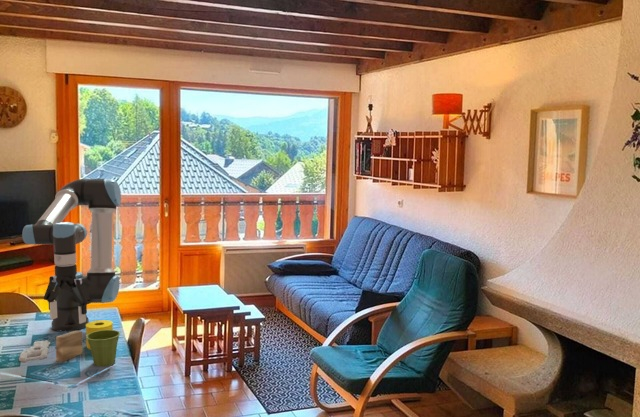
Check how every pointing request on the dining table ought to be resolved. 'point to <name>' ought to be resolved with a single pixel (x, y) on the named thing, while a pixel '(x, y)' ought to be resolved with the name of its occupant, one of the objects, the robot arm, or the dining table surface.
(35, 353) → the light grey toy spaceship
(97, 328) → the yellow paper roll
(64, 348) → the rectangular block
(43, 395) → the dining table surface
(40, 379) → the mat
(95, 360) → the plant pot
